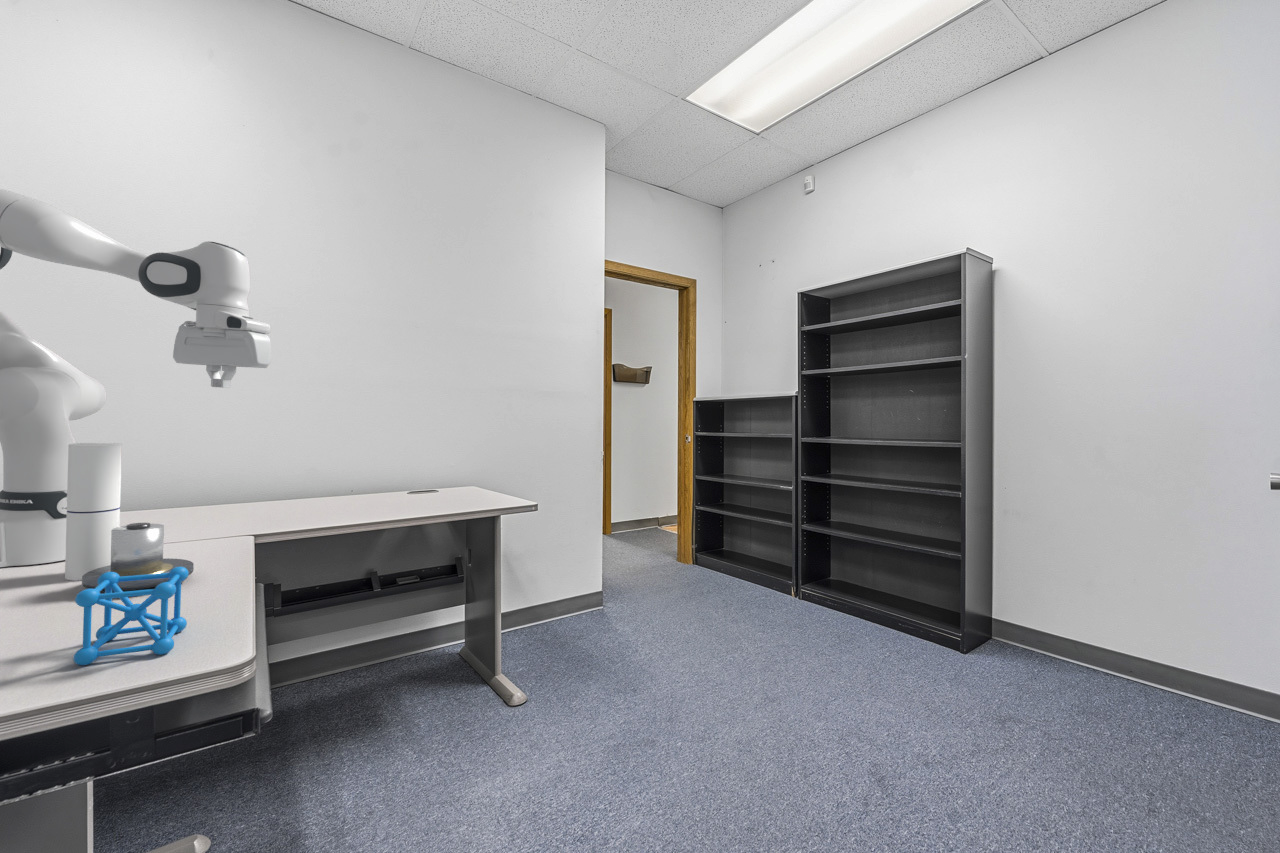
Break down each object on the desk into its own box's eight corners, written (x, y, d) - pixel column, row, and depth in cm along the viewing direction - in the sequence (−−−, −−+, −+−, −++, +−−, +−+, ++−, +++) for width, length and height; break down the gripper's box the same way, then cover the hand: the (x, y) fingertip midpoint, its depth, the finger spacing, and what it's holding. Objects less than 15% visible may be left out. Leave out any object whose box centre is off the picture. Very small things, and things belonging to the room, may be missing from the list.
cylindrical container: (56, 582, 98) (60, 445, 97) (75, 570, 104) (78, 442, 103) (109, 578, 101) (113, 446, 100) (124, 567, 107) (128, 443, 107)
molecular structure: (171, 656, 74) (174, 584, 73) (70, 670, 69) (72, 592, 68) (188, 628, 82) (190, 563, 82) (98, 639, 77) (100, 570, 77)
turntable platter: (56, 585, 92) (56, 578, 92) (147, 561, 107) (147, 555, 107) (132, 594, 90) (132, 586, 90) (213, 568, 105) (214, 562, 105)
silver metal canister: (99, 574, 95) (100, 526, 95) (141, 564, 102) (142, 519, 102) (132, 578, 94) (134, 530, 94) (172, 567, 101) (174, 522, 101)
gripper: (165, 317, 112) (162, 384, 112) (252, 321, 109) (250, 389, 109) (194, 323, 118) (191, 385, 118) (277, 326, 115) (275, 390, 116)
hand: (220, 387), depth 114 cm, fingers closed
